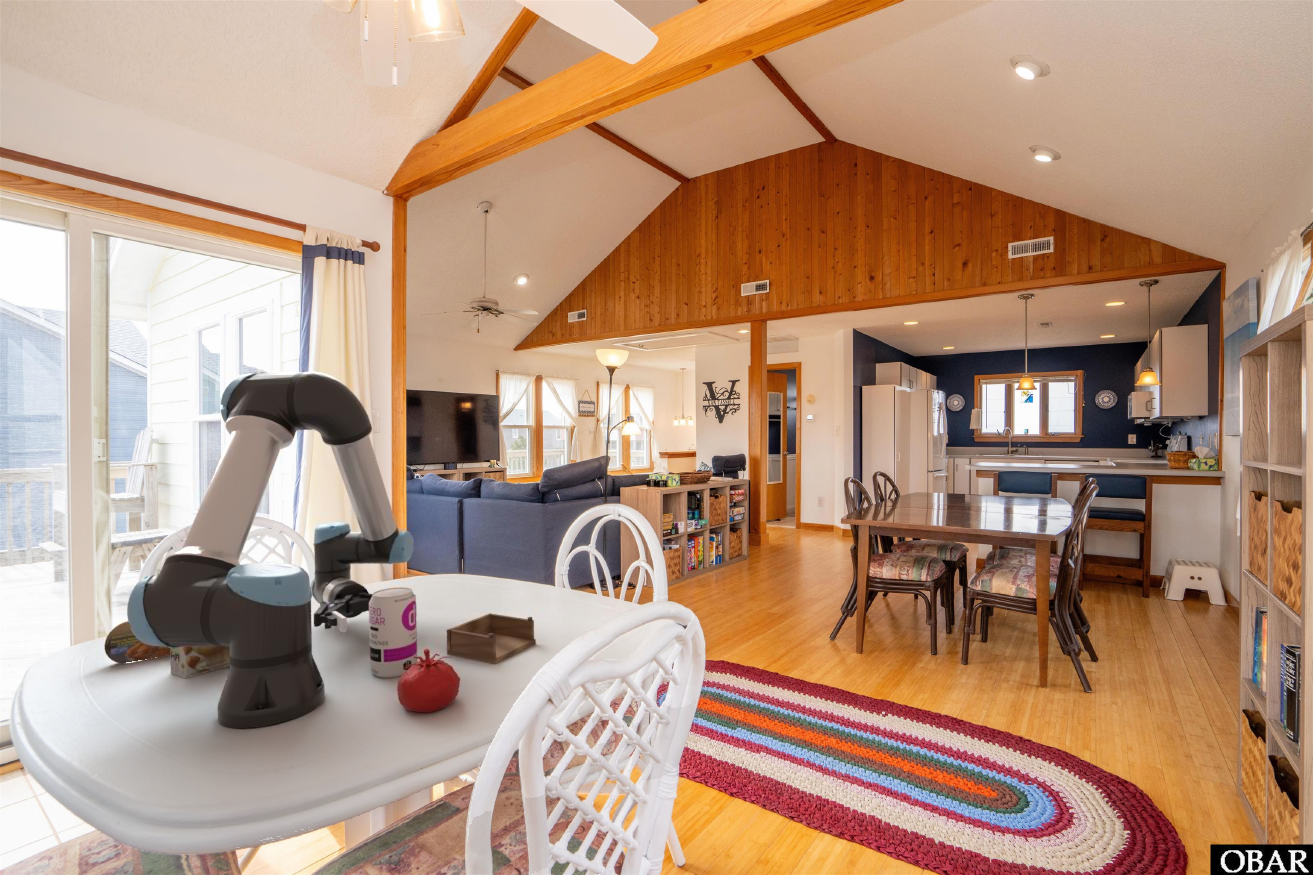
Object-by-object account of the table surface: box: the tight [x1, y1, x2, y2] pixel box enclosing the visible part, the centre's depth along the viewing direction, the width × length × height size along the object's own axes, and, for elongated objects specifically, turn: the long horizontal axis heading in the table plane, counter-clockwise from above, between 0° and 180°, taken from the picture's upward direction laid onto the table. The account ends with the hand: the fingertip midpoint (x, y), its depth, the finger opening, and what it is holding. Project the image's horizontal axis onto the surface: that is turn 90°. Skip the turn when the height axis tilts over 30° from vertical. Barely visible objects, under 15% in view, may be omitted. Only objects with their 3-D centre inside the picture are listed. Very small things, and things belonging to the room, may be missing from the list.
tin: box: [104, 620, 170, 664], centre depth 130 cm, size 15×3×8 cm, turn 133°
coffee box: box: [169, 646, 230, 679], centre depth 123 cm, size 9×6×16 cm
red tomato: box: [396, 648, 461, 714], centre depth 105 cm, size 10×10×9 cm
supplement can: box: [368, 586, 418, 679], centre depth 120 cm, size 8×8×15 cm
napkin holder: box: [446, 612, 537, 665], centre depth 131 cm, size 13×13×6 cm
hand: (381, 617), depth 126 cm, fingers open, 13 cm apart
